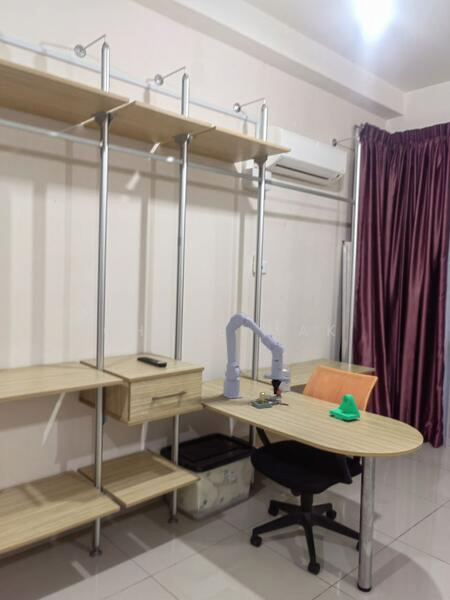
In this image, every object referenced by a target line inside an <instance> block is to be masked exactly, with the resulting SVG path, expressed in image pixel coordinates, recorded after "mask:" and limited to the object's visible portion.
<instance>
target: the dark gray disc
mask: <svg viewBox="0 0 450 600" xmlns="http://www.w3.org/2000/svg"><path fill="white" fill-rule="evenodd" d="M256 400H260V397H258V398H257V399H255V401H256ZM268 402H270V403H272V406H276V405H278V404H279V399H274V400H271V401H268ZM265 404H267V403H266V402H265Z"/></svg>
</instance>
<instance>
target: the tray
mask: <svg viewBox="0 0 450 600" xmlns="http://www.w3.org/2000/svg"><path fill="white" fill-rule="evenodd" d="M265 402H266V403H267V404H259V400H256V399H255V400H251V406H254V407H256V409H266V408H267V409H268V408H272V406H273V405H272V403H270V402H268V401H266V400H265Z"/></svg>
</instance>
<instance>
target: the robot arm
mask: <svg viewBox="0 0 450 600" xmlns="http://www.w3.org/2000/svg"><path fill="white" fill-rule="evenodd" d="M241 326H242V327H244V328H249V330H251V331H252V332H253V333H254V334H256V336H258V337H259V338H260V343H262V345H264V346H265V347H266V348H267V349H268V350H269V351H270V353H271V355H272V356H271V357H272V358H271V374H269V373H268V374H266V373H265V374H263V379H267V380H271V381H270V383H271V384H272V388H273V395H274V396H276V390H278V388H279V386H280V384H281V382H282V381H283V382H287V383H289V382H290V383H291V380H290V378H287V377H283V376H282V374H283V368H284V355H283V354H284V352H285V348H284V346H283V344H282V343H280V342H279V341H277V340H276V339H275V338H274V337H273V335H272V334H270V333H266V332H264V331H263V330H262V329H261V327H260V326H259V325H258V324H257V323H256V322H255V321H254V320H253V319H252V318H251V317H250V316H248V315H247V314H246V313H245V312H238V313H235V314H234V315H233V316H231V317H230V319H229V322H228V323H227V325H226V327H225V338H226V354H227V355H226V356H227V364H226V371H225V372H224V373H225V379H224V381H223V389H222V390H223V393H221V395H222V396H223V397H225V398H227V399H229V400H230V399H240V398H243V396H242V395H240V389H241V388H240V386H241V385H240V383H241V382H240V375H241V372H242V371H241V368H240V365H239V361H238V350H237V349H238V347H237V334H236V331H237V330H238V329H239V328H240V327H241Z"/></svg>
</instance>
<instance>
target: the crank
mask: <svg viewBox="0 0 450 600" xmlns="http://www.w3.org/2000/svg"><path fill="white" fill-rule="evenodd" d="M274 399H276V400H281V399H283V396H282V391H281V390H276V395H270V394H265V400H266V401H271V400H274Z"/></svg>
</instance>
